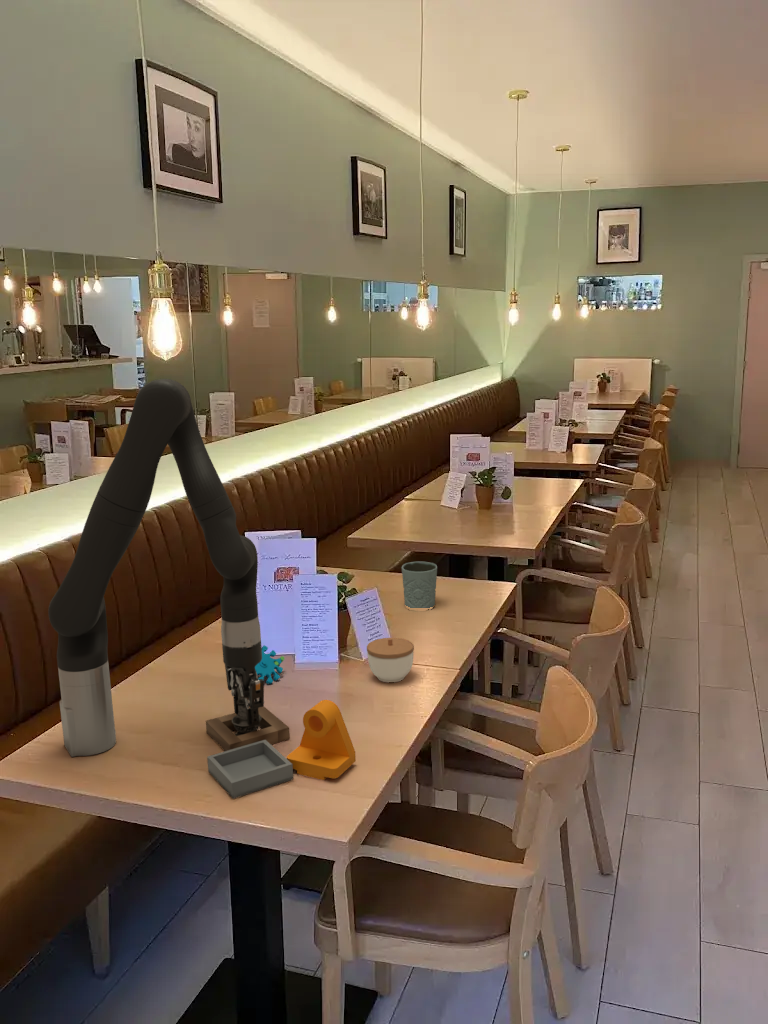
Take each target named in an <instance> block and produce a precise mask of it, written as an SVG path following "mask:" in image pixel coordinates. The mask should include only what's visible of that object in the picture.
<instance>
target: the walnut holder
mask: <svg viewBox="0 0 768 1024" xmlns="http://www.w3.org/2000/svg"><path fill="white" fill-rule="evenodd" d="M258 711H259V715H260V716H261V717H262V718H261V721H260V725H259V727H260V728H261V729H257V731H253V732H250V733H246V734H243V735H239V736H236V735H235V734H236V733H234V731H237V730H236V729H235V727H234V724H233V723H232V719H233V717H235V716H236V715H237V714H236V713H235V712H233V713H229V714H225V715H223V716H222V715H221V716H218V717H215V718H210V719H207V720H205V731H206V734H207V735H208V736H210V738H211V739H212V740H213V741H214V742H215V743H216V742H217V743H218V744H219V745H220V746H221V747H222V748H223V749H224V750H223V749H222V748H221V747H220V746H219V745H218V744H217V743H216V744H217V745H218V746H219V747H220V748H221V749H222V750H223V752H224V751H228V750H231V749H235V748H238V747H241V746H245V745H248V744H252V743H255V742H259V741H262V740H266V741H267V742H269V743H270V744H271V745H272V746H273V745H275V744H277V743H280V742H285V741H288V740H290V739H291V736H290V734H291V733H290V727H289V725H287V724H286V723H284V722H283V721H282V720H281V719H280V718H279V717H277V716H276V715H275V714H274V713H273V712H271V711H270V710H269V709H268V708H267V707H266V706H263V707H259V708H258ZM233 730H234V731H233Z"/></svg>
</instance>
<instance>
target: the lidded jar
mask: <svg viewBox="0 0 768 1024" xmlns="http://www.w3.org/2000/svg"><path fill="white" fill-rule="evenodd" d="M414 650H415V645H414V643H413V642H412V641H410V640H409V639H405V638H400V637H383V638H377V639H375V640H372V641H370V642H368V644H367V645H366V652H367V653H366V654H367V661H368V666H369V668H370V671H371V672H372V674H373V675H374V676H375V677H377V679H378V681H380V682H382V683H389V682H394V683H398V682H401V680H402V681H403V680H404V679H405V677H406V676H408V674H409V673H410V671H411V670H412V667H413V663H414V652H415V651H414Z"/></svg>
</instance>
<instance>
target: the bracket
mask: <svg viewBox="0 0 768 1024" xmlns="http://www.w3.org/2000/svg"><path fill="white" fill-rule="evenodd" d="M343 717H344V716H343V715H342V712H341V709H340V707H339V706H338V705H337V703H335V702H334V701H332V700H329V699H322V700H321V701H318V702H317V703H316V704H315V705H314V706H313V707H311V708H309V709H308V710H307V711H305V713H304V714H303V717H302V724H303V727H304V730H303V733H302V737H301V740H300V742H299V746H298V747H296V748H295V749H294V750H292V751H291V752H290V753H288V754H287V755H286V759H287V760H288V761H290V762H291V763H292V765H293V770H295V771H296V774H297V775H300V776H305V777H309V778H311V779H317V780H321V781H324V780H326V779H327V778H330V779H337V778H339V777H341V775H342V774H343V773H345V772H346V771H347V770H348V769H349V768H350V767H351V766H353V764H354V763H356V760H357V759H356V751H355V747H354V745H353V741H352V740H351V737H350V733H349V731H348V728H347V725H346V723H345V720H344V718H343Z"/></svg>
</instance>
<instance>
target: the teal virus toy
mask: <svg viewBox="0 0 768 1024" xmlns="http://www.w3.org/2000/svg"><path fill="white" fill-rule="evenodd" d="M261 647H262V660H261V661H260V662H259V663H258V664H257V665H256V666H255V670H256V673H257V676H260V677H258V678H257V679H258V680H259V679H263V681H264V679H265V677H267V679H266V681H264V682H265V684H267V685H271V684H273V683H274V681H279V680H280V679H281V675H280V674H281V673H282V672H283V671H284V668H283V667H281V664H282V663H283V662H284V661H285V656H280V657H278V658H274V657H275V656H276V655H277V652H276V651H275V650H273V649H272V650H271V651H270V652H269V653H266V652H267V651H268V649H269V647H268V646H266V645H265V644H264V645H262V646H261ZM272 675H273V678H272Z"/></svg>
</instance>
